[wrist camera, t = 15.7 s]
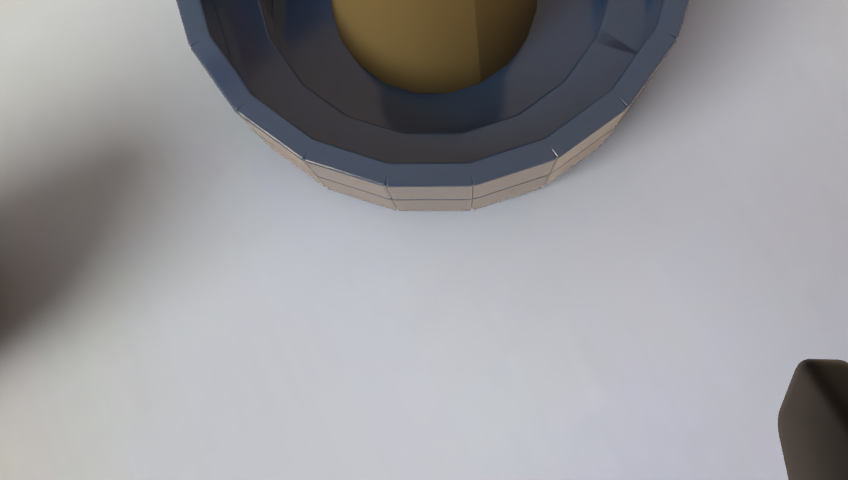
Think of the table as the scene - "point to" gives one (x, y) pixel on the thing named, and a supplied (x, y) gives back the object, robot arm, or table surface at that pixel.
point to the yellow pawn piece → (433, 39)
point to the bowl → (432, 98)
